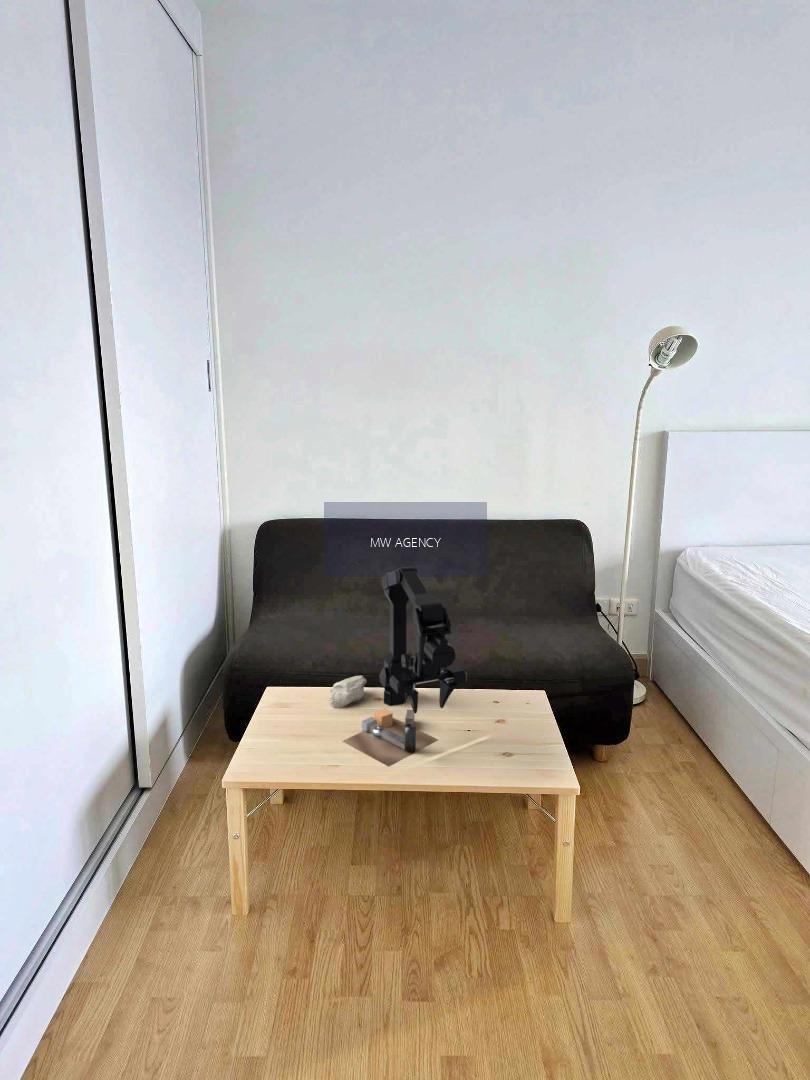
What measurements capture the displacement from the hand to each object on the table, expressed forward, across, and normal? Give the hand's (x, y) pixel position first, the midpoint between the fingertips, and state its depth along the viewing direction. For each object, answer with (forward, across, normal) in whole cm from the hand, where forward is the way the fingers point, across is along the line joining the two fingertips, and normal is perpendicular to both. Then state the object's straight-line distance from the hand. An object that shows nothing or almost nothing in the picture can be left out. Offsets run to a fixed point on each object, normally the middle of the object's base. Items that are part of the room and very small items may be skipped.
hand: (428, 710), depth 182 cm
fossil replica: (+11, +11, -32) cm, 36 cm away
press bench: (+11, +6, -7) cm, 14 cm away
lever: (+10, +8, -7) cm, 14 cm away
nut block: (+10, +6, -15) cm, 19 cm away
